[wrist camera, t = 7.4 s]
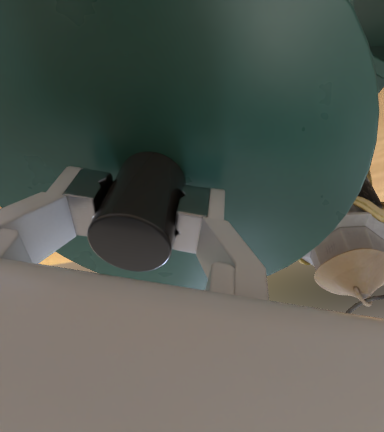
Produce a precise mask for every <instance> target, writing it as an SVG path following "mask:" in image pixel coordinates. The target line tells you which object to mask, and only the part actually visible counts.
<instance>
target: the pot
mask: <svg viewBox="0 0 384 432" xmlns="http://www.w3.org/2000/svg"><path fill="white" fill-rule="evenodd" d="M349 1H350V3H351V4H352V6H353V8H354V10H355V12H356V15H357V17H358V20H359V22H360V24H361V27H362V29H363V31H364V34H365V36H366V38H367V41H368V43H369V47H370V52H371V56H372V60H373V64H374V68H375V73H376V77H377V87H378V93H379V92H380V91H381V90H382V88H383V87H384V0H349Z"/></svg>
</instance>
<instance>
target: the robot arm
mask: <svg viewBox="0 0 384 432" xmlns="http://www.w3.org/2000/svg"><path fill="white" fill-rule="evenodd" d="M112 183H113V176H112V174H111V173H108V172H103V171H97V170H92V169H86V168H80V167H73V166H68V167H66V168H65V170H64V171H63V172H62V173H61V174H60V176H59V177H58V178H57V179H56V181H55V182H54V183H53V184H52V185H51V187H50V188H49V189H48V190H47V191H46V192H40V193H37V194H35V195H32V196H30V197H28V198H25V199H23V200H20V201H18V202H15V203H13V204H11V205H8V206H6V207H3V208H1V209H0V432H384V319H382V318H376V317H370V316H363V315H357V314H351V313H344V312H338V311H332V310H325V309H319V308H313V307H306V306H300V305H293V304H288V303H281V302H275V301H269V294H268V284H267V274H266V268H265V267H264V266H263V264H262V263H261V262H260V261H259V259H258V258H257V257H256V256H255V254H254V253H253V252H252V250H251V249H250V248H249V247H248V245H247V244H246V243H245V242H244V240H243V239H242V238H241V237H240V235H239V234H238V233H237V232H236V230H235V229H234V228H233V227H232V225H231V224H230V223H229V222H228V221H226V220H224V204H225V190H223V189H215V188H211V189H210V188H204V187H197V186H191V185H184V184H183V186H182V190H181V198H180V199H179V204H178V208H177V213H176V223H175V228H176V229H177V230H176V235H175V239H174V245H173V250H177V251H183V252H188V253H194V254H196V256H197V258H198V260H199V262H200V264H201V266H202V268H203V270H204V272H205V274H206V276H207V278H208V281H207V285H206V289H205V290H199V289H193V288H187V287H180V286H174V285H168V284H162V283H155V282H149V281H143V280H136V279H130V278H124V277H117V276H111V275H105V274H99V273H92V272H85V271H79V270H73V269H67V268H60V267H54V266H48V265H42V264H38V263H40V262H41V261H42V260H44V259H45V258H47V257H48V256H49V255H51V254H52V253H54V252H55V251H56V250H58V249H59V248H61V247H62V246H64V245H65V244H66V243H68V242H69V241H71V240H72V239H73V238H75V237H76V235H79V236H87V231H88V227H89V225H90V223H91V221H92V220H93V218H94V216H95V214H96V212H97V211H98V209H99V207H100V205H101V203H102V201H103V200H104V198H105V196H106V194H107V192H108V190H109V189H110V187H111V185H112Z"/></svg>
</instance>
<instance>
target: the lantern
mask: <svg viewBox="0 0 384 432" xmlns="http://www.w3.org/2000/svg"><path fill="white" fill-rule="evenodd" d="M298 262H300V263H302V264H304V265H310V264H312V265H313V266H314V267H315V270H316V273H315V275H314V279H315V281H316V283H317V284H318V285H319V286H320V287H322V288H323V289H325V290H327V291H329V292H332V293H335V294H340V295H350V296H353V297H356V298H359V299H360V302H358V303H356V304H355V305H353V306H352V307H351V308H350V309H348V311H347V312H346V313H351V312H352V311H354V310H355V309H356V308H357V307H359V306H361V305H363V304H364V305H365V306H367V307H369V306H371V305H372V301H374V300H380V299H384V295H381V296H373V297H370V295H371V294H372V293H373V292H374V291H375V290H377V289H378V288H379V287H381V286H383V285H384V202H380V200H379V198H378V196H377V194H376V193H375V191H374V189H373V187H372V180H371V174H370V171H368V174H367V176H366V179H365V181H364V183H363V186H362V188H361V191H360V193H359V195H358V196H357V198H356V200H355V201H354V203H353V205H352V206H351V208H350V210H349V211H348V213H347V214H346V215H345V217H344V218H343V219H342V220H341V222H340V223H339V224H338V226H337V227H336V228H335V229H334V230H333V231H332V232H331V233H330V234H329V235H328V236H327V237H326V238H325V239H324V240H323V241H322V242H321V243H320V244H319V245H318V246H317V247H315V248H314V249H313V250H311V251H310V252H309V253H308V254H306V255H305V256H304V257H302V258H301V259H299V260H298ZM365 298H367V299H365ZM367 302H368V303H367Z"/></svg>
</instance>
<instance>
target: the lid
mask: <svg viewBox="0 0 384 432" xmlns="http://www.w3.org/2000/svg"><path fill="white" fill-rule="evenodd" d="M378 119H379V102H378V87H377V77H376V73H375V68H374V64H373V60H372V56H371V52H370V47H369V43H368V41H367V38H366V36H365V34H364V31H363V29H362V27H361V24H360V22H359V20H358V17H357V15H356V12H355V10H354V8H353V6H352V4H351V3H350V1H349V0H0V206H1V207H2V208H3V207H6V206H8V205H11V204H13V203H15V202H18V201H20V200H23V199H25V198H28V197H30V196H32V195H35V194H37V193H40V192H46V191H47V190H48V189H49V188H50V187H51V185H52V184H53V183H54V182H55V181H56V179H57V178H58V177H59V176H60V174H61V173H62V172H63V171H64V170H65V168H66V167H68V166H73V167H80V168H86V169H92V170H97V171H103V172H108V173H111V174H112V176H113V183H112V185H111V187H110V189H109V190H108V192H107V194H106V196H105V198H104V200H103V201H102V203H101V205H100V207H99V209H98V211H97V212H96V214H95V216H94V218H93V220H92V221H91V223H90V225H89V227H88V231H87V236H79V235H76V237H75V238H73V239H72V240H71V241H69V242H68V243H66V244H65V245H64V246H62V247H61V248H59V249H58V250H56V252H57V253H59V254H61V255H62V256H64V257H66V258H68V259H69V260H71V261H73V262H75V263H77V264H79V265H81V266H83V267H85V268H88V269H90V270H92V271H95V272H97V273H99V274H105V275H111V276H117V277H124V278H130V279H136V280H143V281H149V282H155V283H162V284H168V285H174V286H180V287H187V288H193V289H199V290H205V289H206V285H207V281H208V278H207V276H206V274H205V272H204V270H203V268H202V266H201V264H200V262H199V260H198V258H197V256H196V254H194V253H188V252H183V251H177V250H173V245H174V239H175V235H176V230H177V229H176V228H175V223H176V213H177V208H178V204H179V199H180V198H181V190H182V186H183V184H184V185H191V186H197V187H204V188H210V189H211V188H215V189H223V190H225V204H224V220H226V221H228V222H229V223H230V224H231V225H232V227H233V228H234V229H235V230H236V232H237V233H238V234H239V235H240V237H241V238H242V239H243V240H244V242H245V243H246V244H247V245H248V247H249V248H250V249H251V250H252V252H253V253H254V254H255V256H256V257H257V258H258V259H259V261H260V262H261V263H262V264H263V266H264V267H265V268H266V274H267V276H268V275H271V274H273V273H275V272H277V271H279V270H281V269H284V268H285V267H288V266H289V265H291V264H292V263H294V262H296V261H297V260H299V259H301V258H302V257H304V256H305V255H306V254H308V253H309V252H310V251H311V250H313V249H314V248H315V247H317V246H318V245H319V244H320V243H321V242H322V241H323V240H324V239H325V238H326V237H327V236H328V235H329V234H330V233H331V232H332V231H333V230H334V229H335V228H336V227H337V226H338V224H339V223H340V222H341V220H342V219H343V218H344V217H345V215H346V214H347V213H348V211H349V210H350V208H351V206H352V205H353V203H354V201H355V200H356V198H357V196H358V195H359V193H360V191H361V188H362V186H363V183H364V181H365V179H366V176H367V174H368V171H369V169H370V165H371V161H372V157H373V153H374V149H375V145H376V141H377V130H378Z"/></svg>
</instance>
